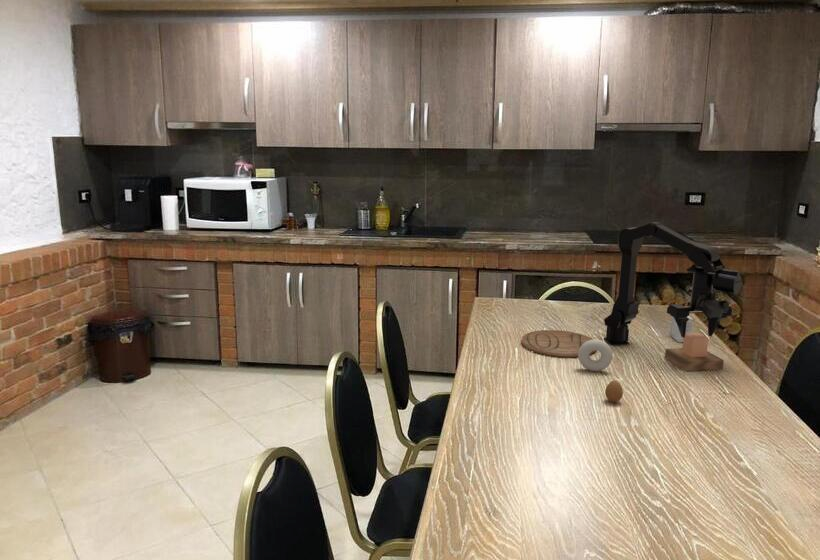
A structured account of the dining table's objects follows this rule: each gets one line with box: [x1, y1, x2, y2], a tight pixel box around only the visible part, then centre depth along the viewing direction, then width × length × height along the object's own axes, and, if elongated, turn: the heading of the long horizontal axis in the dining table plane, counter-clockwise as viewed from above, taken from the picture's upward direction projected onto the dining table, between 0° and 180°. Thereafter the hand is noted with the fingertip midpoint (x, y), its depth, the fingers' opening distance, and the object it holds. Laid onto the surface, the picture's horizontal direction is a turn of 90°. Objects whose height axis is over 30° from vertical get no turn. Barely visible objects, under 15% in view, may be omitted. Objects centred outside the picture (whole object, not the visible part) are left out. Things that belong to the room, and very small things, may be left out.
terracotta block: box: [681, 332, 709, 357], centre depth 197 cm, size 5×5×6 cm
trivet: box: [521, 329, 598, 359], centre depth 214 cm, size 25×25×2 cm
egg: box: [604, 380, 624, 403], centre depth 169 cm, size 4×4×6 cm
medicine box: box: [669, 315, 694, 344], centre depth 222 cm, size 8×4×9 cm, turn 179°
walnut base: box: [664, 347, 725, 372], centre depth 198 cm, size 12×12×3 cm
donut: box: [577, 338, 613, 372], centre depth 190 cm, size 10×4×10 cm, turn 77°
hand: (696, 336), depth 197 cm, fingers open, 9 cm apart
